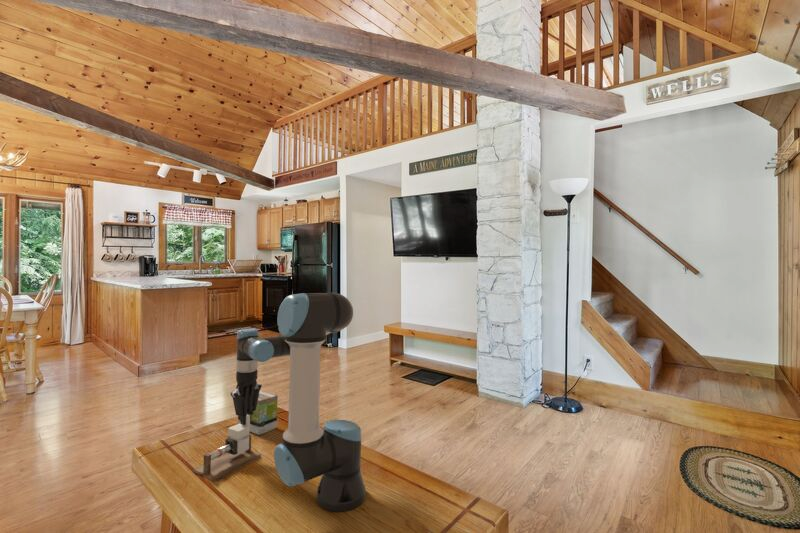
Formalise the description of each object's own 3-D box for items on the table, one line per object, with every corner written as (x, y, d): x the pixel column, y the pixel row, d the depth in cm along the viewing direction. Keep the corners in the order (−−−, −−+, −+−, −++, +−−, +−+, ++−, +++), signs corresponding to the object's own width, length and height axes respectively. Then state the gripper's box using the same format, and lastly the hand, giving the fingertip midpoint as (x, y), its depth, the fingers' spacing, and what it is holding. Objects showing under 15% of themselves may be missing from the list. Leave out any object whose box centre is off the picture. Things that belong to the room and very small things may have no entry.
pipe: (249, 443, 145) (249, 435, 145) (211, 462, 130) (212, 454, 130) (243, 441, 146) (243, 434, 146) (206, 460, 132) (206, 452, 132)
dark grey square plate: (236, 453, 139) (237, 441, 139) (234, 455, 138) (234, 442, 138) (228, 450, 141) (228, 438, 141) (225, 451, 140) (225, 439, 140)
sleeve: (248, 449, 143) (249, 426, 143) (237, 455, 139) (238, 431, 139) (238, 445, 145) (239, 423, 145) (227, 451, 141) (228, 428, 141)
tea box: (277, 427, 170) (278, 394, 170) (258, 436, 161) (259, 401, 161) (256, 419, 178) (256, 388, 178) (236, 427, 169) (237, 394, 169)
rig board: (260, 456, 144) (261, 437, 144) (216, 481, 127) (217, 460, 127) (238, 449, 149) (238, 430, 149) (193, 472, 132) (193, 451, 132)
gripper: (253, 364, 152) (252, 423, 152) (225, 372, 141) (224, 436, 141) (267, 367, 149) (266, 427, 149) (239, 375, 137) (238, 441, 137)
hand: (245, 431), depth 145 cm, fingers closed
